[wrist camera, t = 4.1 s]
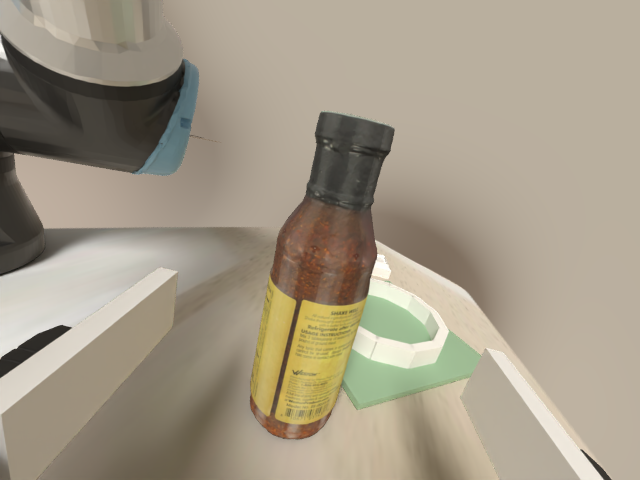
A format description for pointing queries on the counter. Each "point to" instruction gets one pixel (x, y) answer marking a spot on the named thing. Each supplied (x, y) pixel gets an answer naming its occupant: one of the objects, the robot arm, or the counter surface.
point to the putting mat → (396, 379)
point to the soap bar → (381, 267)
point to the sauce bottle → (319, 280)
